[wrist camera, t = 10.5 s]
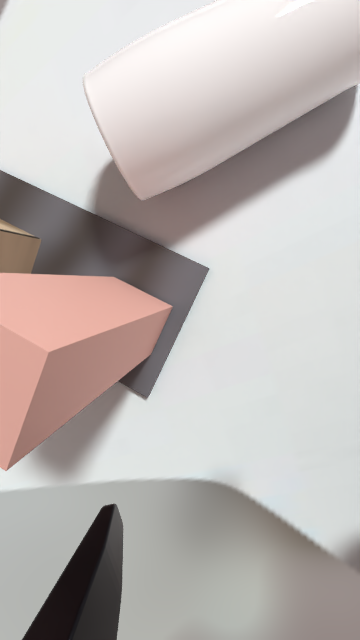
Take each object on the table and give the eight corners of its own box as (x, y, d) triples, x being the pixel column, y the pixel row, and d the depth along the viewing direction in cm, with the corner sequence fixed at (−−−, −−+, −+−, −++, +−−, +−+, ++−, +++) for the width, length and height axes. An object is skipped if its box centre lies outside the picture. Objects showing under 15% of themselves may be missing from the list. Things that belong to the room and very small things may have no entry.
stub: (172, 306, 19) (48, 352, 7) (151, 353, 20) (5, 471, 8) (113, 276, 20) (-97, 268, 8) (95, 323, 21) (-122, 387, 8)
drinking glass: (478, -23, 10) (110, 167, 12) (377, 114, 16) (152, 218, 19) (405, -187, 10) (62, 35, 13) (336, 14, 17) (121, 131, 19)
